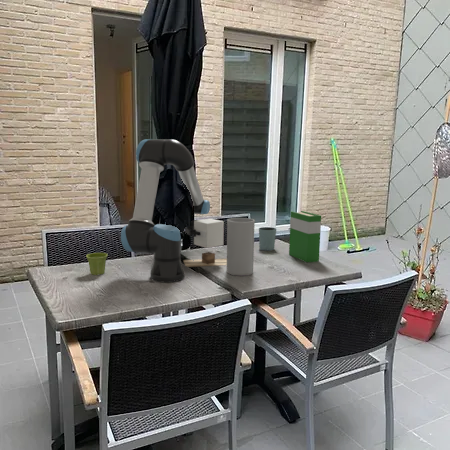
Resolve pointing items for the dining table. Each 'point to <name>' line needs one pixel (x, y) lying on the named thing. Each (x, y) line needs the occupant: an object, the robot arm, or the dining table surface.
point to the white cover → (209, 232)
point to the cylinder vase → (240, 246)
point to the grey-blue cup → (267, 238)
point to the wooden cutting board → (199, 263)
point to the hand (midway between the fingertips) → (214, 233)
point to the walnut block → (208, 257)
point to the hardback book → (305, 236)
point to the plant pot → (97, 263)
